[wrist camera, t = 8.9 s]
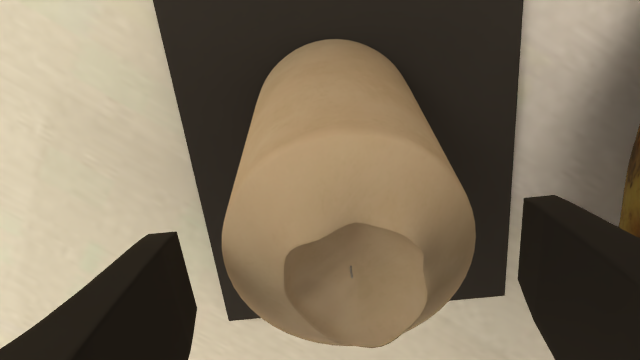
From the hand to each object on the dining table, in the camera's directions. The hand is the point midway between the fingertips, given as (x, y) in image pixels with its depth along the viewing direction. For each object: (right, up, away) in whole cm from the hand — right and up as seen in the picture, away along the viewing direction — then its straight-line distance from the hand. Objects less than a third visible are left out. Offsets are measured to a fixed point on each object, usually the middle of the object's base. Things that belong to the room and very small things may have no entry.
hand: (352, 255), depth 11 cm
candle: (0, +4, +8) cm, 9 cm away
